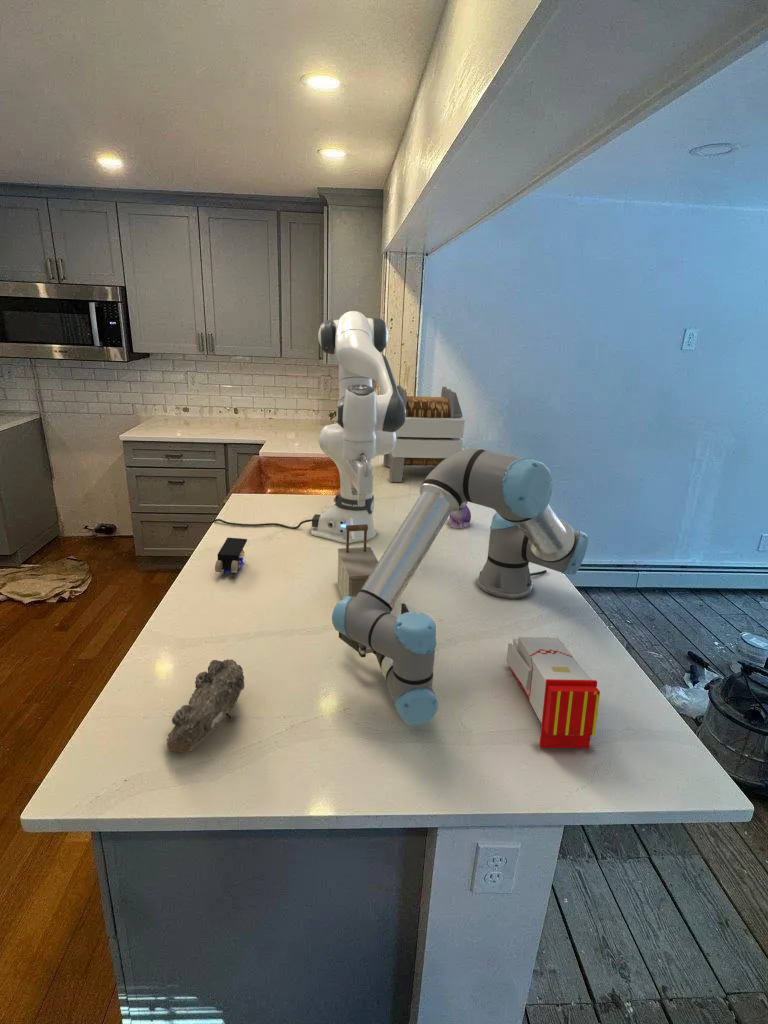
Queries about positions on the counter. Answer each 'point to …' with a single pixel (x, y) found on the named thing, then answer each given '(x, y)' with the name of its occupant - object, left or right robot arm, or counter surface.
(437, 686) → the counter surface
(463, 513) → the figurine
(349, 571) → the lid
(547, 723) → the toy
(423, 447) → the transformer
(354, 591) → the chest
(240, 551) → the figurine character
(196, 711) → the fossil
